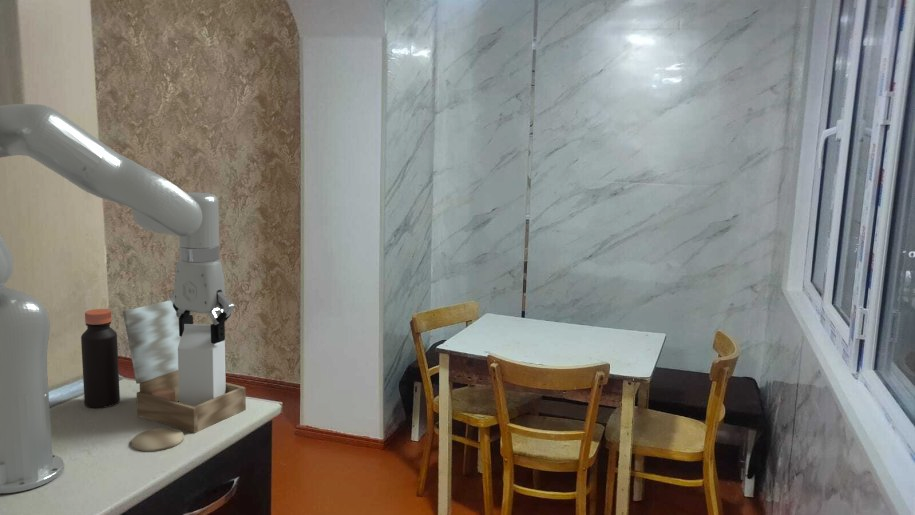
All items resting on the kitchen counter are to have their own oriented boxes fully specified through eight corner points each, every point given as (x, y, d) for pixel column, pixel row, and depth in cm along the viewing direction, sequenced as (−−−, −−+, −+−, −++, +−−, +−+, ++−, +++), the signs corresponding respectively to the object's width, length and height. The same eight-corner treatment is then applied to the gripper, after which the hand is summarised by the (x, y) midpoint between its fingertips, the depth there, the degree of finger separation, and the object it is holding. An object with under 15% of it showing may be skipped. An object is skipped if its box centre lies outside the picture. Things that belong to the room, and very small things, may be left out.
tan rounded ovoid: (163, 420, 142) (162, 396, 141) (147, 415, 144) (147, 392, 143) (180, 412, 146) (179, 390, 145) (165, 408, 148) (164, 386, 147)
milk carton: (214, 420, 142) (212, 330, 139) (179, 418, 143) (176, 328, 139) (226, 407, 150) (224, 321, 146) (193, 406, 150) (191, 319, 146)
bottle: (110, 409, 146) (106, 316, 143) (78, 408, 146) (72, 315, 143) (125, 397, 153) (121, 308, 149) (94, 396, 153) (90, 307, 149)
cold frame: (194, 433, 136) (191, 325, 133) (127, 412, 145) (122, 310, 141) (245, 409, 149) (244, 310, 145) (181, 392, 157) (178, 297, 153)
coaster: (155, 455, 126) (155, 452, 126) (121, 444, 130) (120, 441, 130) (193, 437, 134) (193, 434, 134) (160, 427, 138) (160, 424, 138)
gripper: (153, 252, 141) (156, 336, 144) (218, 262, 133) (219, 350, 136) (183, 247, 147) (185, 327, 151) (246, 256, 140) (247, 341, 143)
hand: (202, 338), depth 143 cm, fingers closed on milk carton, 8 cm apart
